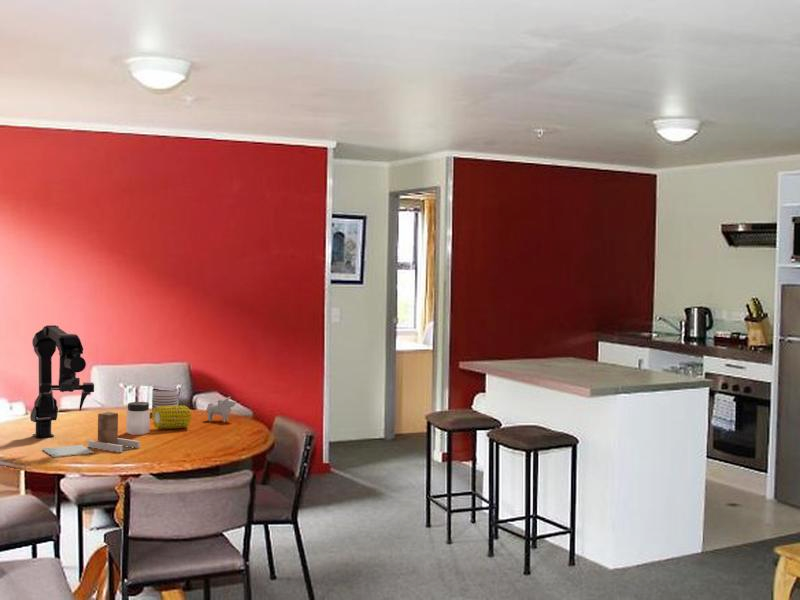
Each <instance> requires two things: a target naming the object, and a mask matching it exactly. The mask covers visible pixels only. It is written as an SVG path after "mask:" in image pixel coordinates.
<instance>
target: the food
mask: <svg viewBox="0 0 800 600" xmlns="http://www.w3.org/2000/svg"><path fill="white" fill-rule="evenodd" d="M151 413H152V414H151V415H152V416H151V417H152V424H153V427H154V428H156V429H159V430H160V429H164V430H166V429H167V430H168V429H185V428H189V425H190V424H191V420H192V416H191V415H192V413H191V409H190V408H189V407H188V406H187V405H178V406H176V405H175V406H173V405H172V406H156V407H155V408H154V409H153V411H152V410H151Z"/></svg>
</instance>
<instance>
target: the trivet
mask: <svg viewBox="0 0 800 600" xmlns="http://www.w3.org/2000/svg"><path fill="white" fill-rule="evenodd" d="M43 450H44V451H45V453H46V452H47V453H48V454H47V453H46V454H47V455H49V454H50V455H51V456H50V455H49V456H50V457H51V458H53V457H56V458H63V457H62V456H66V457H72V456H71V455H75V456H81V455H82V454H85V455H90V454H89V453H94V454H95V452H94V451H93V450H91V448H88V447H86V446H84V445H83V444H77V445H65V446H57V447H46V448H42V451H43ZM44 451H43V452H44ZM82 456H83V455H82Z"/></svg>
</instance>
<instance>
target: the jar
mask: <svg viewBox="0 0 800 600" xmlns="http://www.w3.org/2000/svg"><path fill="white" fill-rule="evenodd" d="M149 403H150V402H147V401H133V402H128V403H127V409H126V433H127V434H128V435H131V436H132V435H133V436H135V435H136V436H137V435H139V436H140V435H147V434H149V433H150V424H151V423H150V419H151V418H150V417H151V413H150V412H151V410H150V409H149V408H150V404H149Z"/></svg>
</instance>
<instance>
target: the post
mask: <svg viewBox="0 0 800 600" xmlns="http://www.w3.org/2000/svg"><path fill="white" fill-rule="evenodd" d="M118 429H119V413H118V412H110V411H106V412H99V413H97V442H104V443H110V444H116V445H117V444H118V438H119V437H118V434H119V433H118V432H119V430H118Z"/></svg>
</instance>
